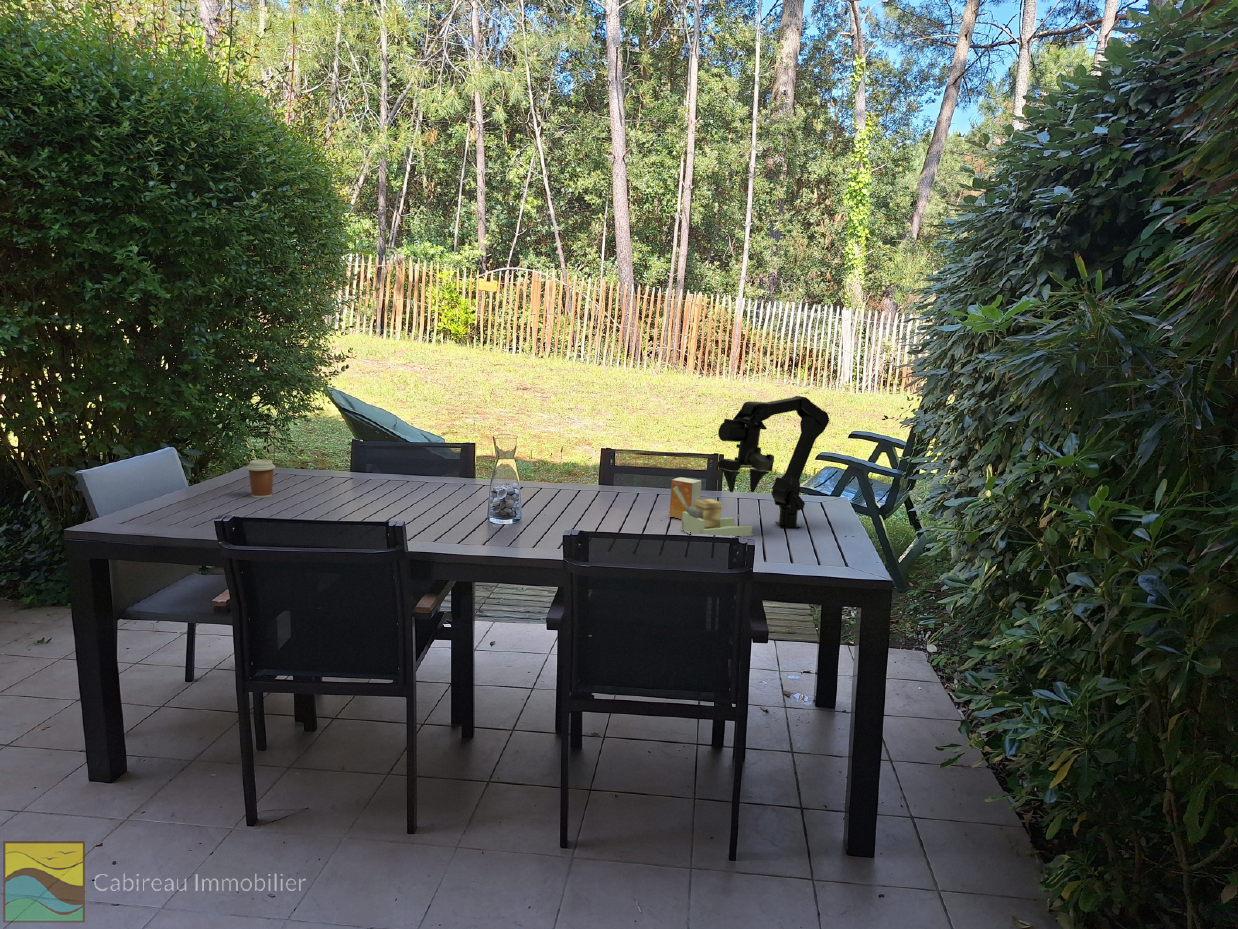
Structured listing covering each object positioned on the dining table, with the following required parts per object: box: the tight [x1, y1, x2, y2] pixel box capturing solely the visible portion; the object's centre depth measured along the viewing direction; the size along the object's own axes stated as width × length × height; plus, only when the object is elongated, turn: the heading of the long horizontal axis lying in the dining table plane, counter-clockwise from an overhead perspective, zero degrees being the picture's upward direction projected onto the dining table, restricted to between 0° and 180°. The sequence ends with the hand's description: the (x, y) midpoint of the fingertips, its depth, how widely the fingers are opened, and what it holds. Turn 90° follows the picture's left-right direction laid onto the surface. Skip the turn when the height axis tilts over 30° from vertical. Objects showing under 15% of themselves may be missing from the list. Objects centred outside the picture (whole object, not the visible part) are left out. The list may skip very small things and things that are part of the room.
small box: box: [669, 476, 702, 520], centre depth 290 cm, size 8×6×13 cm
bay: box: [681, 506, 755, 538], centre depth 273 cm, size 19×12×8 cm, turn 114°
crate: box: [695, 498, 722, 529], centre depth 271 cm, size 6×6×10 cm
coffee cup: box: [246, 458, 276, 499], centre depth 300 cm, size 9×9×12 cm
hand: (741, 492), depth 275 cm, fingers open, 9 cm apart
